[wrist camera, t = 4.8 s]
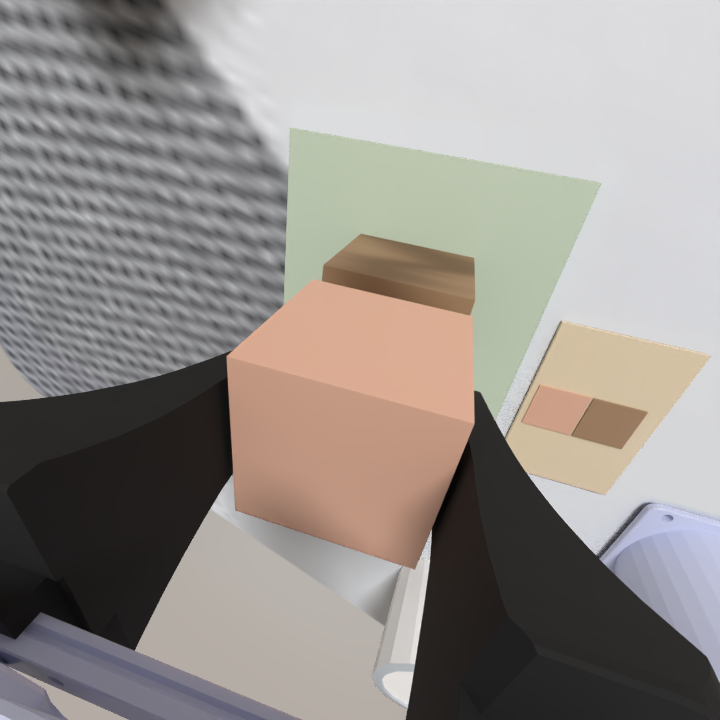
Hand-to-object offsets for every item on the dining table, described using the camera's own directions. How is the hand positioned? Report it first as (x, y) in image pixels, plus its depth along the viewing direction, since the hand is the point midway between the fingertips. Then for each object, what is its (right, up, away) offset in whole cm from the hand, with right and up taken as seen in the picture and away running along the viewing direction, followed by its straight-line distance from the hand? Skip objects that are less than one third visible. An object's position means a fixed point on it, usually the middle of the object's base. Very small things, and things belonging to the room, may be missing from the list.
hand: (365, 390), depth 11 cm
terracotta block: (0, +1, +2) cm, 2 cm away
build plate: (+2, +4, +7) cm, 8 cm away
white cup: (+6, -16, +18) cm, 25 cm away
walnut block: (+2, +4, +6) cm, 8 cm away
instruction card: (+11, -2, +8) cm, 14 cm away
